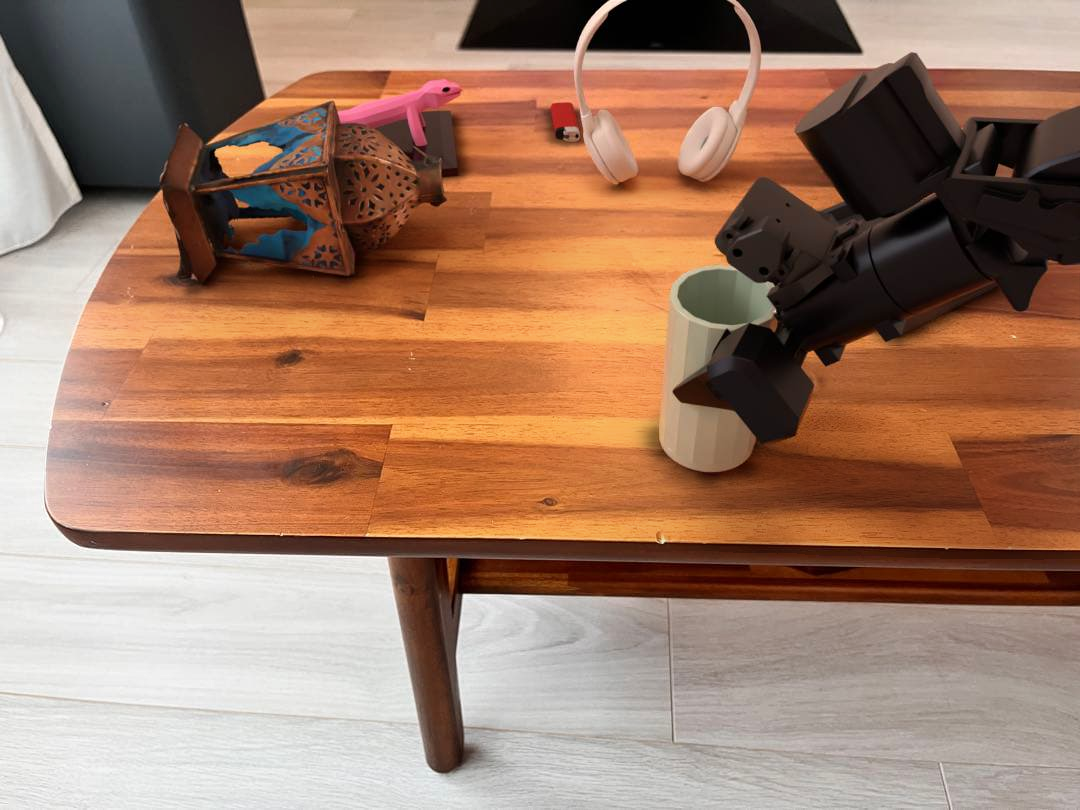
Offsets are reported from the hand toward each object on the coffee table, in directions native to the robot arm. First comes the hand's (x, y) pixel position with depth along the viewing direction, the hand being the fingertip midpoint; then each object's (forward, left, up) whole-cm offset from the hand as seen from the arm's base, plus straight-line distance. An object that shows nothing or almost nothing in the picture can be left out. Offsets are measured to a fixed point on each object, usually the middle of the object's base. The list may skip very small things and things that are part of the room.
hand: (695, 363), depth 63 cm
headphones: (+33, -23, -7) cm, 41 cm away
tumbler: (-1, -1, -7) cm, 7 cm away
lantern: (+40, +13, -7) cm, 42 cm away
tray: (+8, -31, -7) cm, 32 cm away
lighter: (+49, -22, -7) cm, 54 cm away
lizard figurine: (+56, -1, -7) cm, 56 cm away
